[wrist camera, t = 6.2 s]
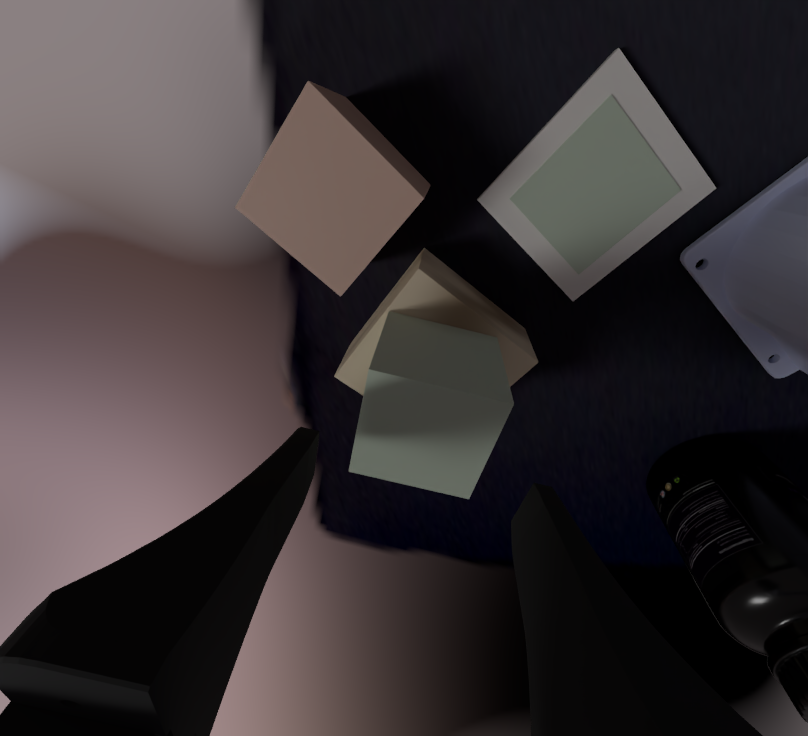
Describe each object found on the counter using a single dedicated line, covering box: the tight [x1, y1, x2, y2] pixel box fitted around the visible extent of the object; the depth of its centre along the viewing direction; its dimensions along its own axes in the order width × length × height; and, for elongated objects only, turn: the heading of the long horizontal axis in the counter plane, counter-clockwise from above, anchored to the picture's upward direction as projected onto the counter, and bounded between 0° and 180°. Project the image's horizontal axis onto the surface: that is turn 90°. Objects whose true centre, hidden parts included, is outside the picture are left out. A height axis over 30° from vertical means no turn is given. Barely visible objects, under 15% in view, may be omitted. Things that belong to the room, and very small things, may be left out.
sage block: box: [349, 311, 514, 499], centre depth 16 cm, size 5×5×5 cm
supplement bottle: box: [646, 438, 808, 722], centre depth 19 cm, size 7×7×12 cm
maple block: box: [334, 248, 538, 396], centre depth 20 cm, size 7×7×4 cm
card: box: [477, 48, 716, 301], centre depth 16 cm, size 7×7×1 cm
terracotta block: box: [235, 81, 431, 296], centre depth 16 cm, size 5×5×5 cm
